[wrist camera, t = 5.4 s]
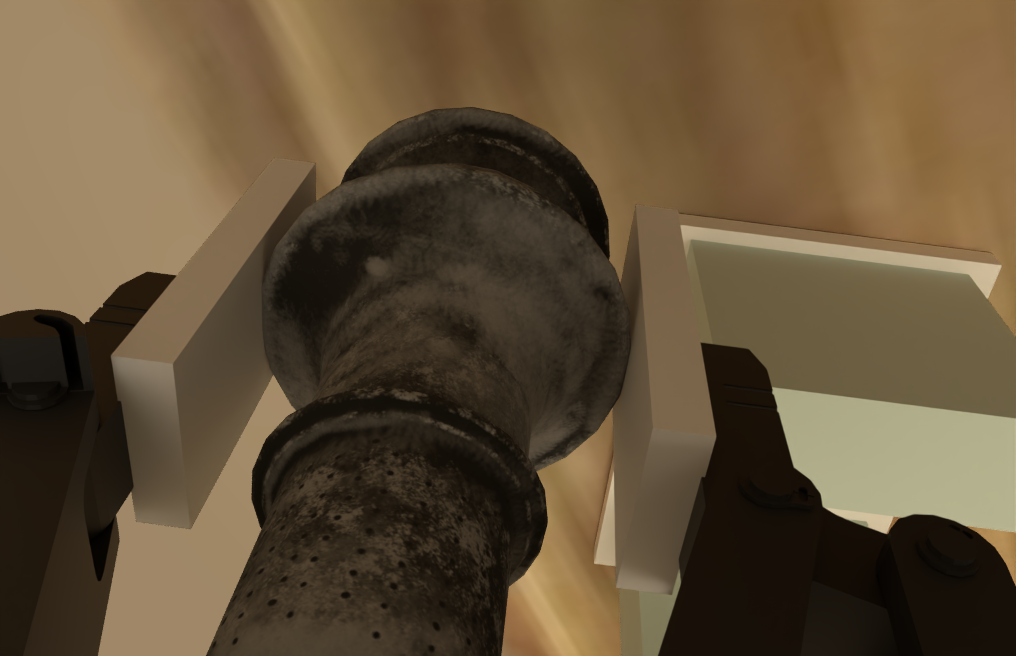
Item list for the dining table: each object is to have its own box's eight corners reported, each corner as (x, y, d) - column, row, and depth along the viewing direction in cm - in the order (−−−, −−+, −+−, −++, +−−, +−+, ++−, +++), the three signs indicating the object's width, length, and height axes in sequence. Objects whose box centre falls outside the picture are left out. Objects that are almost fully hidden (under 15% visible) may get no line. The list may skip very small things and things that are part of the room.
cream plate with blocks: (664, 211, 34) (688, 361, 25) (991, 252, 34) (1127, 417, 25) (594, 547, 43) (594, 742, 34) (853, 581, 43) (918, 785, 34)
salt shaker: (610, 382, 19) (624, 1107, 9) (327, 360, 19) (19, 1036, 9) (643, 100, 16) (724, 713, 6) (305, 79, 16) (-200, 624, 6)
